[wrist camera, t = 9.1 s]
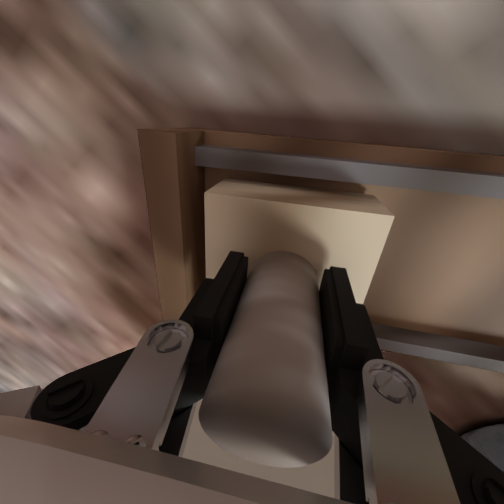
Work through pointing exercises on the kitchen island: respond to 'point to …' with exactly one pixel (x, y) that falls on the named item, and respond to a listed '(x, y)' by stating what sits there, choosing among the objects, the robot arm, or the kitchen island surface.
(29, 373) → the kitchen island surface
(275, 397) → the square knob plate
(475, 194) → the rail bed
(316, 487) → the white knob block
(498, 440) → the moka pot
